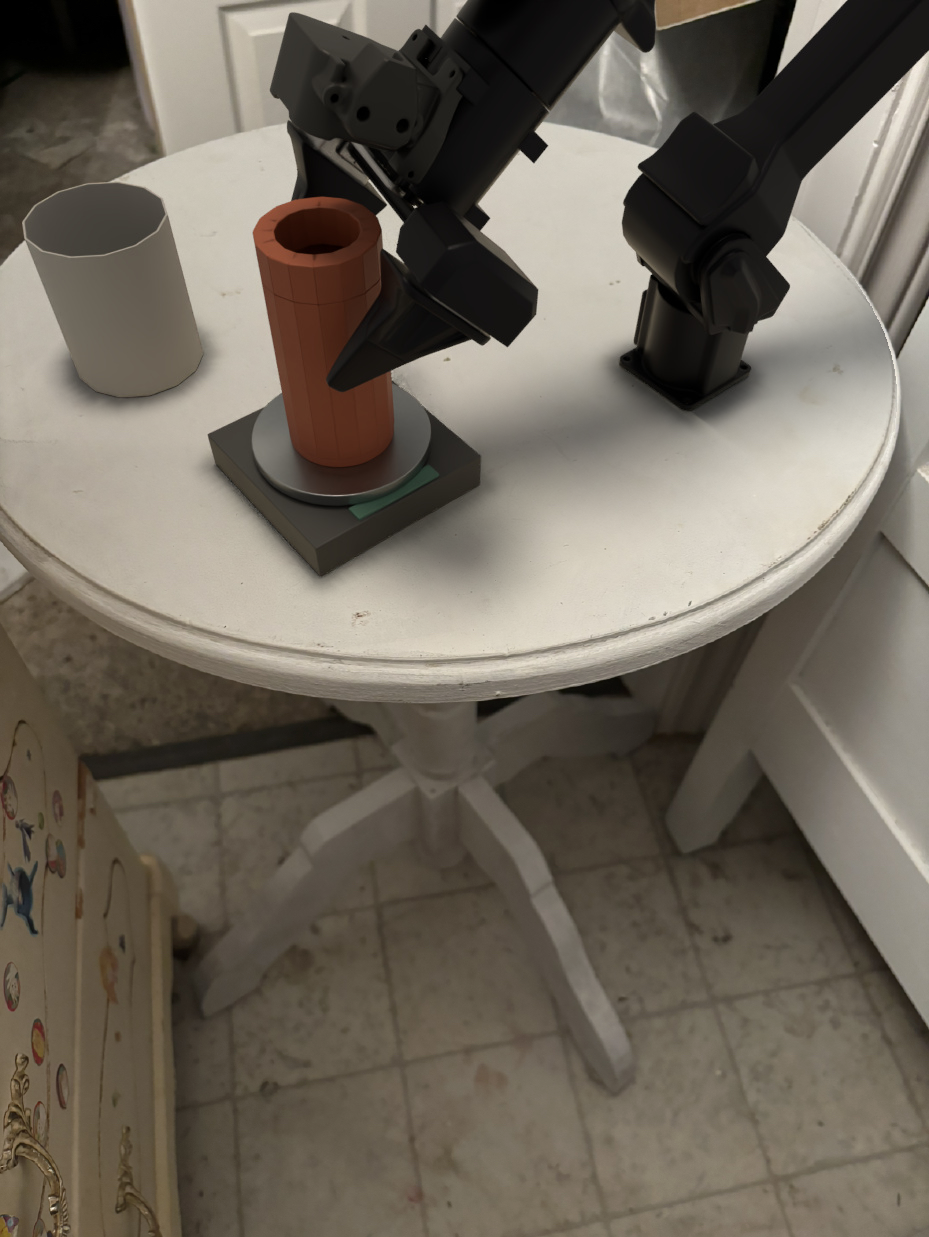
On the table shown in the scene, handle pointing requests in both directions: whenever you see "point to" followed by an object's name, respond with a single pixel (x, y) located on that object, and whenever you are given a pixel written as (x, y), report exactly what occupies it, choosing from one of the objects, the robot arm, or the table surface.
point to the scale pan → (342, 482)
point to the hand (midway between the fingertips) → (302, 334)
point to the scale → (347, 528)
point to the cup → (115, 286)
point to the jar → (324, 323)
